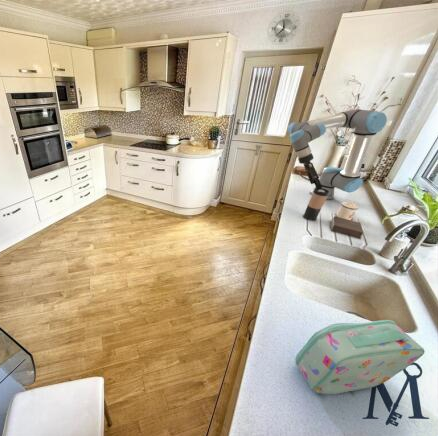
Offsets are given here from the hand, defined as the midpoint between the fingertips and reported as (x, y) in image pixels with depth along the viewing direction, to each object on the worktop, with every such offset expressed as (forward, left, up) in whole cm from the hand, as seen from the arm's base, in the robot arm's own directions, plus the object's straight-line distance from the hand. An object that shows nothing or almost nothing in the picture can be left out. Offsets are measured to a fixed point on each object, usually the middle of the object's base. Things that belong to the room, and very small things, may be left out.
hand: (316, 185), depth 147 cm
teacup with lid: (-15, +23, -21) cm, 35 cm away
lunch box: (+111, +14, -21) cm, 114 cm away
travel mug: (+2, +3, -21) cm, 22 cm away
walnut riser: (+6, +22, -21) cm, 31 cm away
